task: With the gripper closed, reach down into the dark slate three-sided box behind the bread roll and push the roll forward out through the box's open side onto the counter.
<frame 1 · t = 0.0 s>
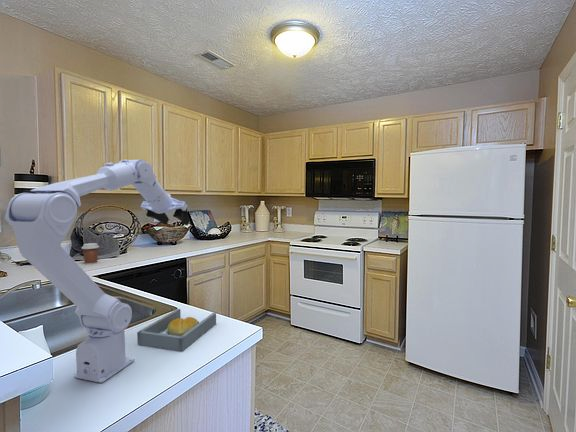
hand: (177, 222, 96), 32 cm above the worktop, tool tilted 50°, fingers open, 7 cm apart
open-side box: (179, 333, 89), on the worktop
coffee cup: (91, 263, 184), on the worktop
bread roll: (184, 332, 91), on the worktop
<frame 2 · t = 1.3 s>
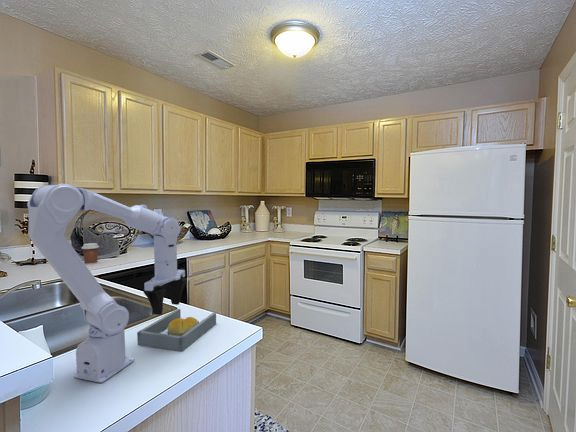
hand: (167, 308, 83), 9 cm above the worktop, tool pointing down, fingers open, 7 cm apart
nothing on the worktop moved.
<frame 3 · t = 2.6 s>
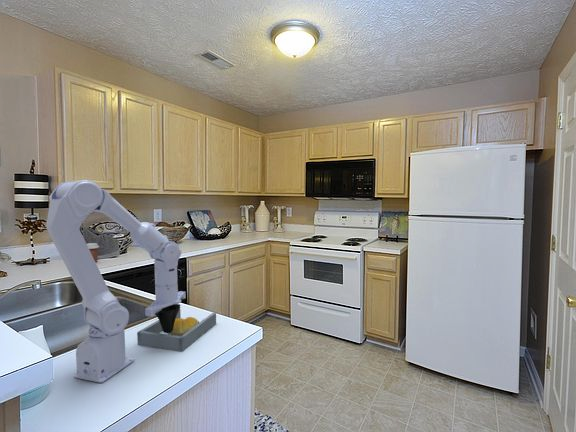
hand: (167, 331, 84), 3 cm above the worktop, tool pointing down, fingers closed
nothing on the worktop moved.
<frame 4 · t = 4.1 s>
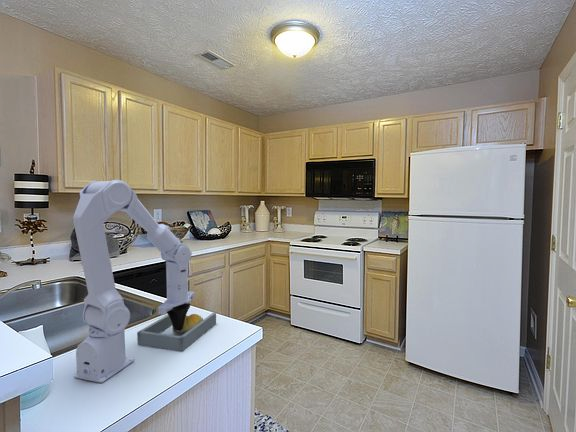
hand: (178, 329, 88), 1 cm above the worktop, tool pointing down, fingers closed
bread roll: (188, 328, 93), on the worktop
everything else where it was.
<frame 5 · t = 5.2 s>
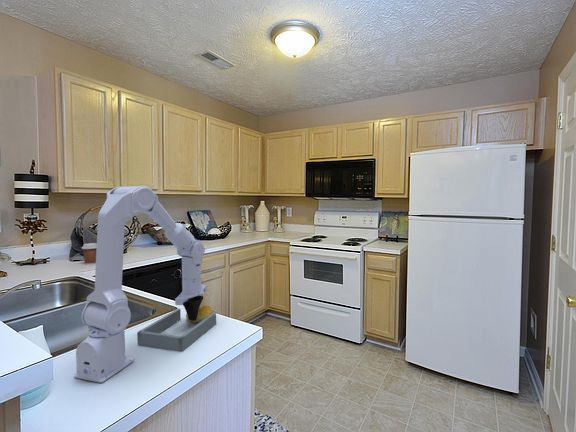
hand: (192, 319, 96), 1 cm above the worktop, tool pointing down, fingers closed
bread roll: (201, 319, 100), on the worktop, touching gripper
everything else where it was.
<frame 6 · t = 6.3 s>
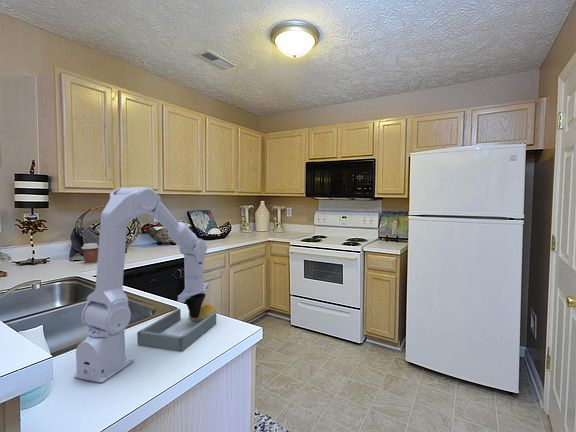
hand: (194, 317, 97), 2 cm above the worktop, tool pointing down, fingers closed
bread roll: (203, 317, 102), on the worktop
everything else where it was.
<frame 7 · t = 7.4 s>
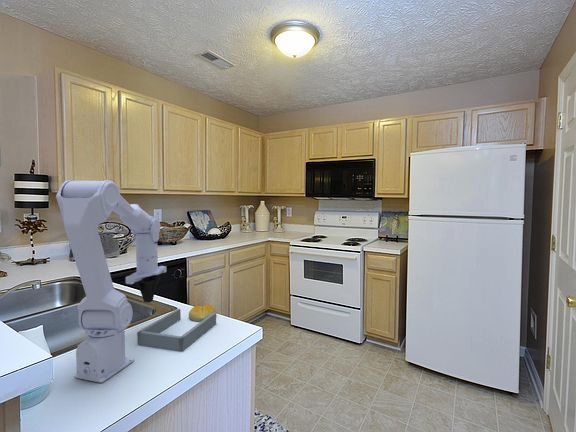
hand: (148, 301, 90), 9 cm above the worktop, tool pointing down, fingers closed
nothing on the worktop moved.
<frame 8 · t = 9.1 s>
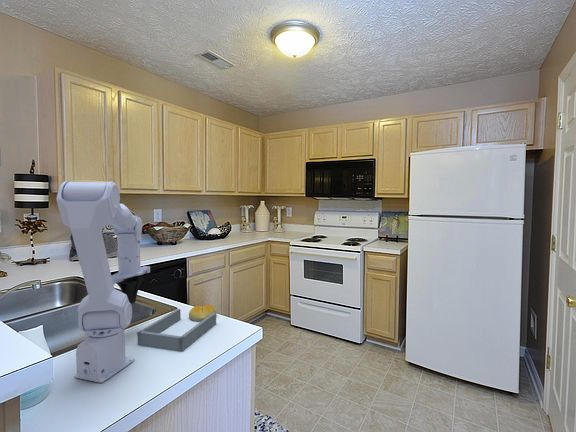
hand: (130, 302, 88), 9 cm above the worktop, tool pointing down, fingers closed
nothing on the worktop moved.
at the end: bread roll inside the target area on the worktop beside the open-side box (7.4 cm from its centre), on the worktop; bread roll moved 11.1 cm from its start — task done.
